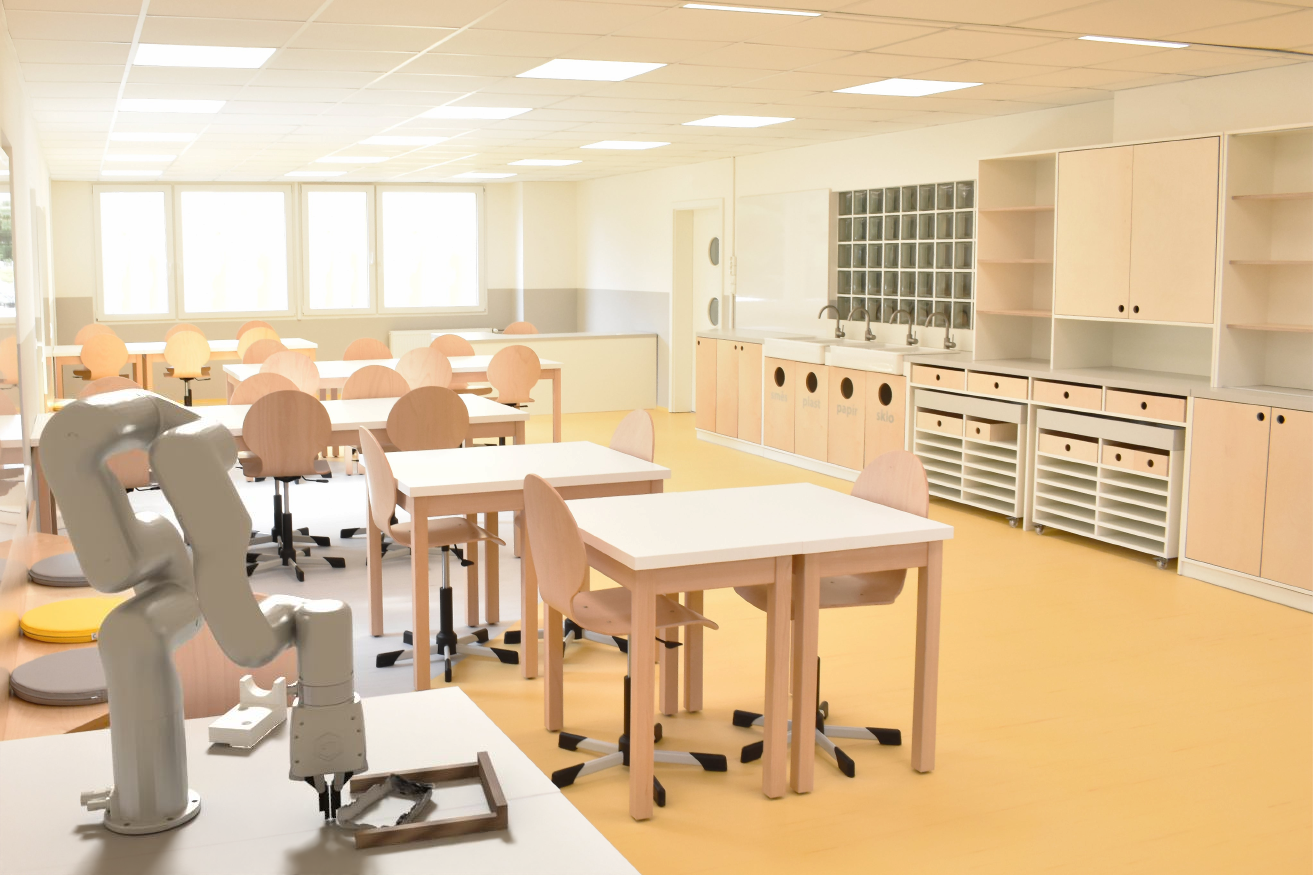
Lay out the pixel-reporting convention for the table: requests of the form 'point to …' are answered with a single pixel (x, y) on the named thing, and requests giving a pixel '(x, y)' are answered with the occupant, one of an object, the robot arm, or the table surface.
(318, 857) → the table surface
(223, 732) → the bracket
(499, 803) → the stop bay
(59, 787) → the table surface
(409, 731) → the table surface
